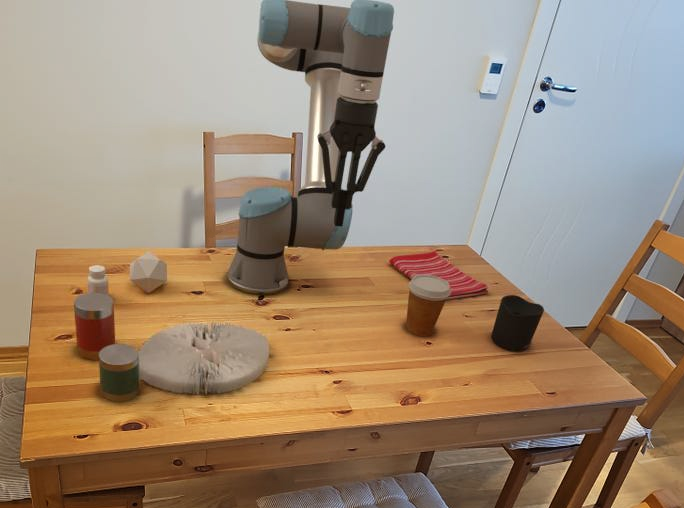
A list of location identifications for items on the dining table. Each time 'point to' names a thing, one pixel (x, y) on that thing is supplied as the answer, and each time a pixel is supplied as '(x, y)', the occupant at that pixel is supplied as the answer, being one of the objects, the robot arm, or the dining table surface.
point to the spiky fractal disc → (203, 357)
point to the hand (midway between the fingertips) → (338, 223)
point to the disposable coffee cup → (425, 303)
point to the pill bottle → (97, 280)
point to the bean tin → (119, 372)
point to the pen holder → (516, 323)
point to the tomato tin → (94, 324)
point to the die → (148, 272)
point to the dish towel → (439, 273)
